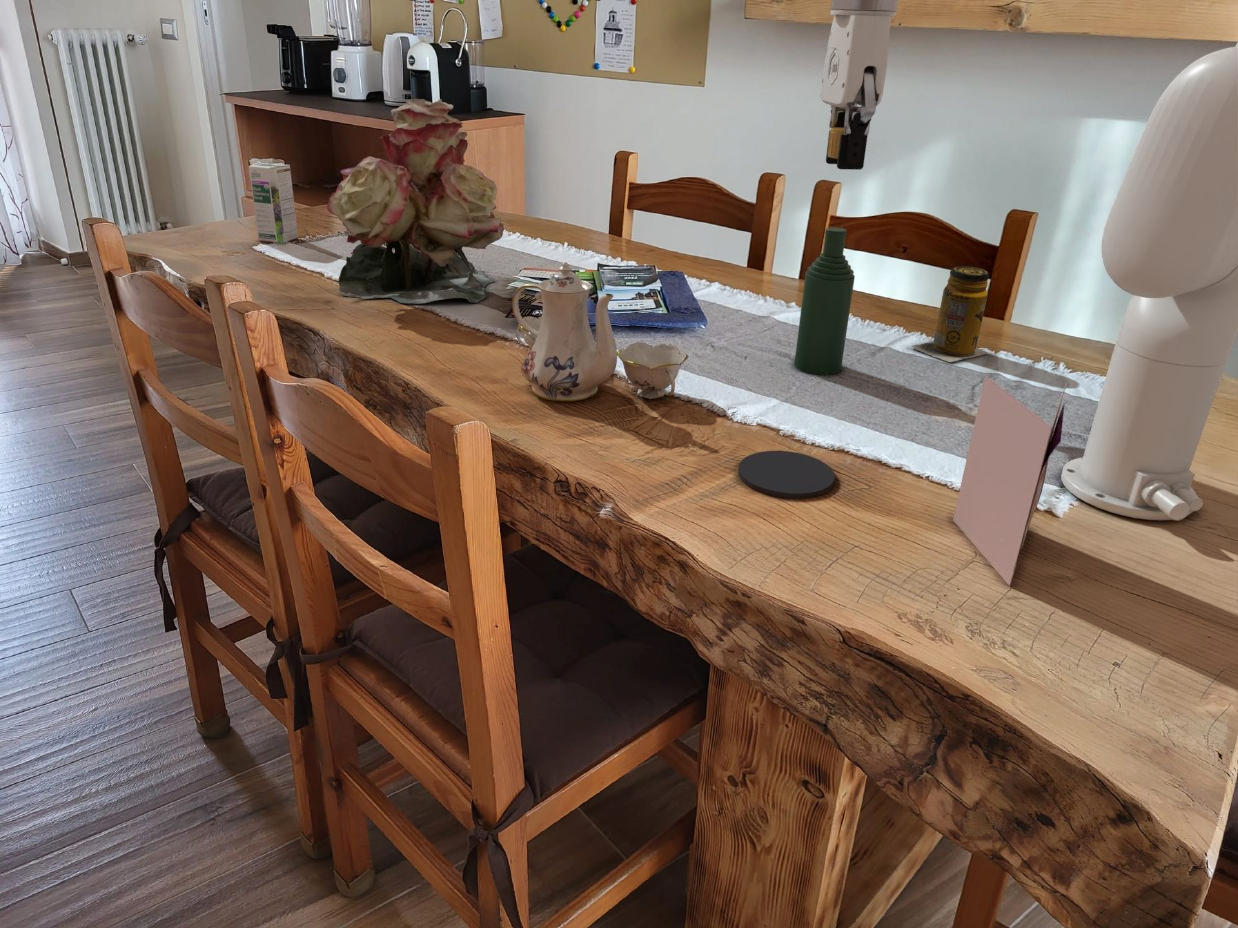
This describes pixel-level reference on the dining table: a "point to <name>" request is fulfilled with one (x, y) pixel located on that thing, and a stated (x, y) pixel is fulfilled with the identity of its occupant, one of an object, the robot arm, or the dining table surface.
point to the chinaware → (585, 346)
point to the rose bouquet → (417, 213)
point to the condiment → (959, 316)
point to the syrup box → (273, 202)
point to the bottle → (825, 308)
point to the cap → (834, 141)
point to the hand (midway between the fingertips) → (844, 165)
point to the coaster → (786, 474)
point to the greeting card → (1004, 475)
